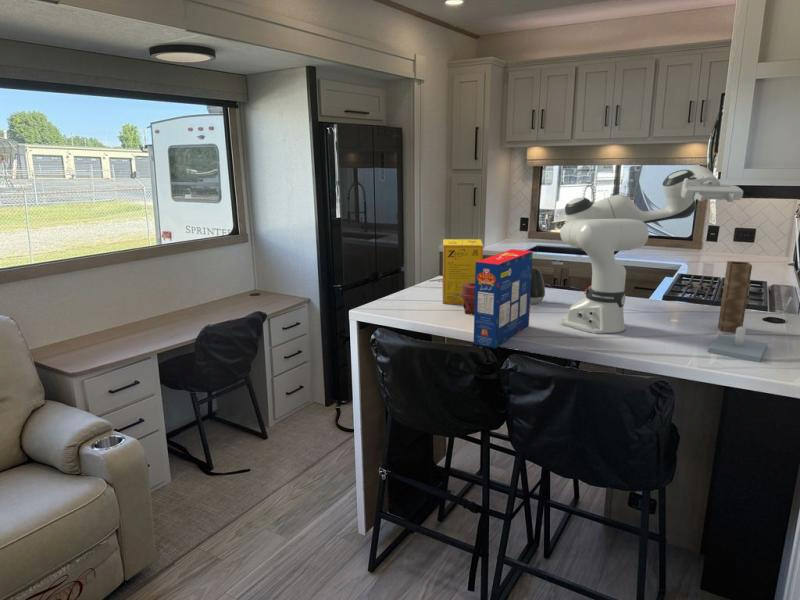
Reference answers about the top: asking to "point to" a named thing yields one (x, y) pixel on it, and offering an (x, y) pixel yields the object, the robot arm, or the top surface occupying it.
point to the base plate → (738, 346)
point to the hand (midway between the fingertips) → (716, 199)
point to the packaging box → (459, 266)
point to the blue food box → (502, 297)
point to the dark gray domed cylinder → (536, 287)
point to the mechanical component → (468, 297)
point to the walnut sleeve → (734, 296)
